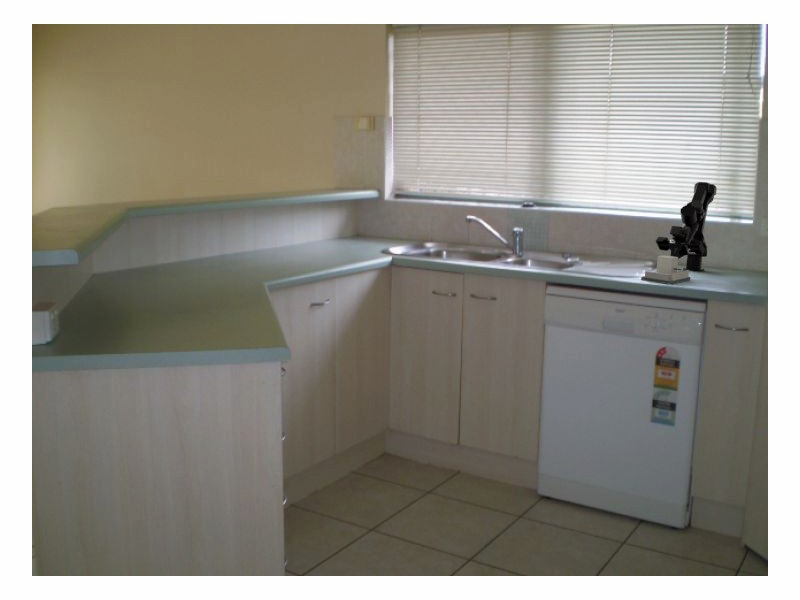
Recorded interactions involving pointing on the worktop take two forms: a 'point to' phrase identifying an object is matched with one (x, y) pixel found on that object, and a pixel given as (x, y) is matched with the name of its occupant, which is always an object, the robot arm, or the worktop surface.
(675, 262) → the gauge carriage
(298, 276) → the worktop surface
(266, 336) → the worktop surface
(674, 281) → the gauge base
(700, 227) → the robot arm
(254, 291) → the worktop surface
